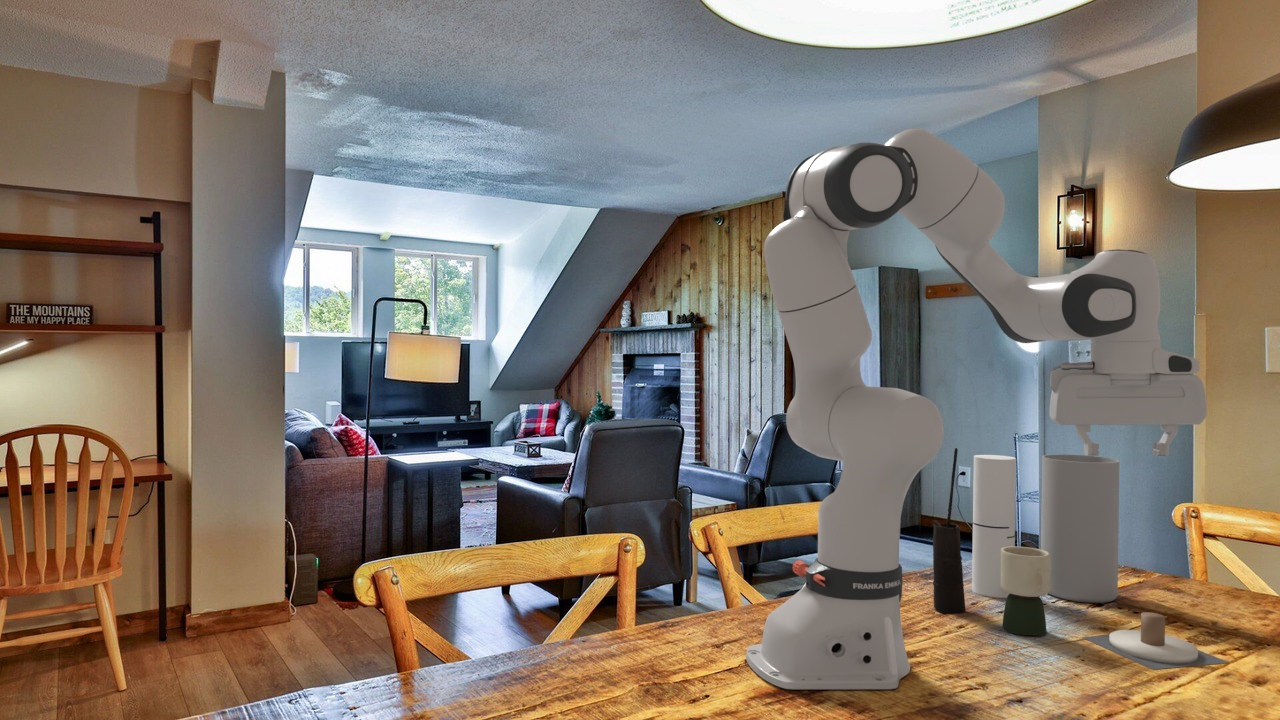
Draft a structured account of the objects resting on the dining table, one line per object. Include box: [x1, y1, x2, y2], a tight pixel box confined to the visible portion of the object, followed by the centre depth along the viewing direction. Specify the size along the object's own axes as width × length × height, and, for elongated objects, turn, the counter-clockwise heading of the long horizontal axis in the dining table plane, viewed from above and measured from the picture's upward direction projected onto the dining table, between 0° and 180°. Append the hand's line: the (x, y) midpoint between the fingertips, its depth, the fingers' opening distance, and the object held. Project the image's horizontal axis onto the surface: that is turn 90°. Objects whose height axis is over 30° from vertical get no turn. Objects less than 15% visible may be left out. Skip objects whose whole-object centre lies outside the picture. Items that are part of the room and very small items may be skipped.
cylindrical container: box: [971, 454, 1017, 599], centre depth 149 cm, size 7×7×25 cm
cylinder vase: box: [1040, 453, 1120, 604], centre depth 148 cm, size 12×12×25 cm
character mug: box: [1000, 545, 1051, 637], centre depth 126 cm, size 11×7×13 cm, turn 10°
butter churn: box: [931, 447, 967, 615], centre depth 139 cm, size 9×10×28 cm
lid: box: [1108, 611, 1199, 664], centre depth 118 cm, size 11×11×5 cm
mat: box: [1080, 634, 1230, 671], centre depth 118 cm, size 13×13×1 cm
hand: (1125, 455), depth 118 cm, fingers open, 8 cm apart
